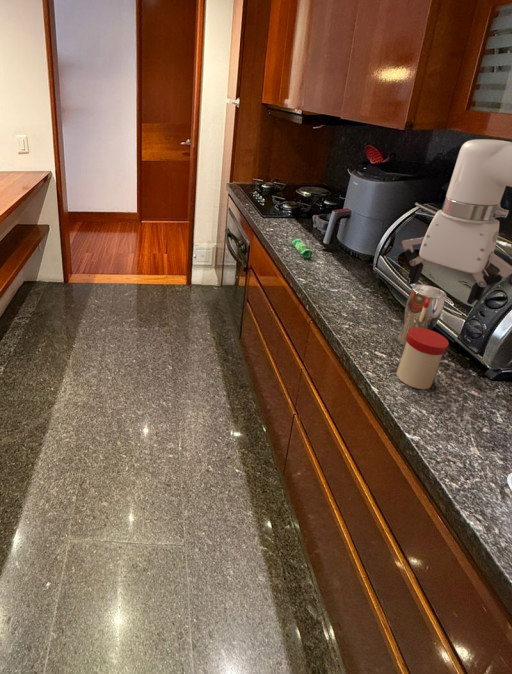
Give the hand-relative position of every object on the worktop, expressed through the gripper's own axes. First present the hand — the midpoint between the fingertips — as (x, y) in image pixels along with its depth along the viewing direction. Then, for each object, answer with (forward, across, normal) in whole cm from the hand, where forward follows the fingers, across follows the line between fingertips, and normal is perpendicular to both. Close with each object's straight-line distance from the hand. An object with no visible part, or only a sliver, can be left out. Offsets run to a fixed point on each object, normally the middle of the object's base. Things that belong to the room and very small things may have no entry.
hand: (441, 291), depth 77 cm
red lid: (+11, 0, 0) cm, 11 cm away
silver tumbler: (+22, +5, -14) cm, 27 cm away
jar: (+22, 0, 0) cm, 22 cm away
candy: (+22, +54, -43) cm, 72 cm away
